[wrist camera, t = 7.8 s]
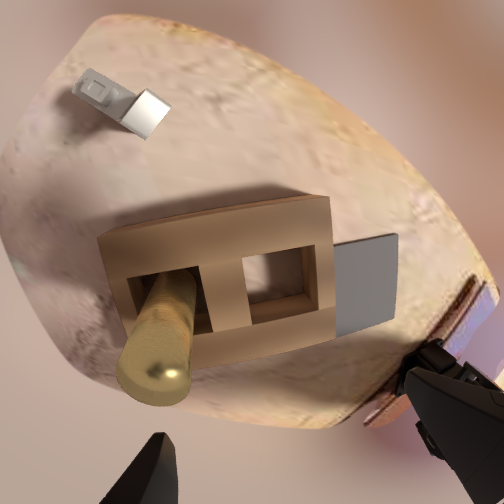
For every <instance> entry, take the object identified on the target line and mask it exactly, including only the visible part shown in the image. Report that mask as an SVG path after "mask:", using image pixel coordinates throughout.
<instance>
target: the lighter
mask: <svg viewBox="0 0 504 504" xmlns="http://www.w3.org/2000/svg"><path fill="white" fill-rule="evenodd" d="M72 93H73V94H75V95H76V96H78V97H79V98H81V99H82V100H84V101H86V102H87V103H89V104H90V105H92V106H93V107H95V108H97V109H98V110H100V111H101V112H103V113H104V114H106V115H107V116H109V117H110V118H112V119H113V120H115V121H117V122H118V123H120V124H121V125H123V126H124V127H126V128H127V129H129V130H130V131H132V132H133V133H135V134H136V135H138V136H139V137H141V138H142V139H144V140H146V139H147V138H148V137H149V135H150V134H151V133H152V131H153V130H154V129H155V127H156V126H157V125H158V123H159V122H160V121H161V119H162V118H163V117H164V116H165V114H166V113H167V112H168V111H169V109H170V108H171V105H170V104H168V103H167V102H166V101H164V100H163V99H162V98H160V97H159V96H158V95H156V94H155V93H153V92H152V91H151V90H149V89H148V88H146V89H145V90H144V91H142V92H141V93H139V94H138V95H137V96H136V95H135V94H134V93H133V92H131V91H129V90H128V89H126V88H124V87H122V86H121V85H119V84H117V83H116V82H114V81H112V80H110V79H109V78H107V77H105V76H103V75H102V74H100V73H98V72H96V71H94V70H93V69H91V68H90V69H87V70H86V71H85V72H84V74H83V75H82V76H81V77H80V79H79V80H78V81H77V83H76V84H75V85H74V87H73V88H72Z"/></svg>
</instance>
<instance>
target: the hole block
mask: <svg viewBox="0 0 504 504" xmlns="http://www.w3.org/2000/svg"><path fill="white" fill-rule="evenodd" d="M97 240H98V244H99V248H100V252H101V256H102V260H103V264H104V267H105V271H106V275H107V278H108V281H109V285H110V288H111V291H112V294H113V298H114V301H115V304H116V307H117V310H118V313H119V315H120V318H121V321H122V324H123V326H124V329H125V332H126V334H127V337H128V338H129V335H130V333H131V331H132V329H133V326H134V324H135V322H136V320H137V318H138V316H139V314H140V311H141V309H142V307H143V305H144V303H145V301H146V299H147V296H146V292H145V289H144V285H143V281H142V278H141V276H142V275H148V274H153V273H159V272H165V271H170V270H176V269H182V268H187V267H193V266H199V271H200V275H201V280H202V285H203V289H204V294H205V298H206V303H207V307H208V311H209V312H206V313H200V314H194V328H193V343H192V361H191V370H194V369H201V368H207V367H214V366H220V365H226V364H231V363H237V362H242V361H247V360H252V359H257V358H262V357H266V356H271V355H275V354H280V353H284V352H288V351H292V350H296V349H300V348H304V347H308V346H312V345H315V344H319V343H322V342H326V341H329V340H333V339H336V296H335V266H334V248H333V233H332V220H331V209H330V198H329V197H328V196H320V195H312V194H310V195H303V196H295V197H287V198H280V199H273V200H266V201H260V202H253V203H247V204H240V205H234V206H228V207H222V208H216V209H210V210H205V211H199V212H194V213H188V214H183V215H178V216H173V217H168V218H163V219H158V220H153V221H148V222H143V223H138V224H134V225H129V226H125V227H120V228H116V229H112V230H110V231H108V232H107V233H105V234H103V235H101V236H99V237H97ZM298 247H300V250H301V261H302V272H303V284H304V293H302V294H298V295H293V296H289V297H284V298H279V299H275V300H270V301H265V302H260V303H255V304H250V305H249V302H248V296H247V290H246V284H245V278H244V272H243V265H242V259H241V258H243V257H248V256H254V255H259V254H265V253H270V252H276V251H281V250H287V249H292V248H298Z"/></svg>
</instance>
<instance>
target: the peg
mask: <svg viewBox="0 0 504 504" xmlns="http://www.w3.org/2000/svg"><path fill="white" fill-rule="evenodd" d="M196 290H197V286H196V282H195V279H194V278H193V276H192V275H191V274H190V273H189V272H188V271H186V270H184V269H176V270H170V271H165V272H161V273H160V274H159V275H158V277H157V279H156V281H155V283H154V285H153V287H152V289H151V291H150V293H149V295H148V297H147V299H146V301H145V303H144V305H143V307H142V309H141V311H140V314H139V316H138V318H137V320H136V322H135V324H134V326H133V329H132V331H131V333H130V335H129V338H128V340H127V342H126V344H125V347H124V349H123V351H122V354H121V356H120V358H119V361H118V363H117V366H116V377H117V380H118V383H119V384H120V386H121V387H122V389H123V390H124V391H125V392H126V393H127V394H128V395H129V396H131V397H132V398H134V399H135V400H137V401H139V402H142V403H145V404H148V405H152V406H170V405H174V404H176V403H178V402H180V401H182V400H183V399H184V398H185V397H186V396H187V395H188V393H189V390H190V384H191V361H192V343H193V328H194V314H195V302H196Z"/></svg>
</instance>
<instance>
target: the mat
mask: <svg viewBox="0 0 504 504" xmlns="http://www.w3.org/2000/svg"><path fill="white" fill-rule="evenodd" d="M333 248H334V266H335V296H336V338H337V337H340V336H343V335H347V334H350V333H353V332H356V331H359V330H362V329H365V328H368V327H371V326H374V325H377V324H380V323H383V322H386V321H388V320H391V319H394V314H395V304H396V291H397V274H398V234H392V235H387V236H382V237H377V238H372V239H367V240H361V241H356V242H351V243H346V244H341V245H336V246H333Z"/></svg>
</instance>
